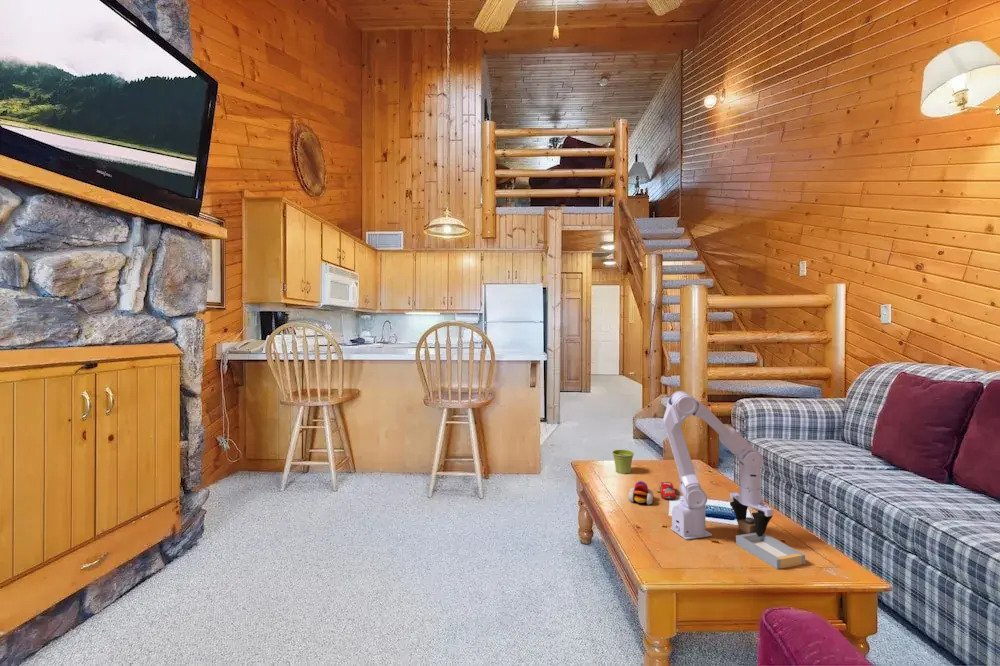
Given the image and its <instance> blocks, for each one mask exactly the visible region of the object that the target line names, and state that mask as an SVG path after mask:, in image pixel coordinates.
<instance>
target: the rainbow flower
mask: <svg viewBox="0 0 1000 666" xmlns="http://www.w3.org/2000/svg"><path fill="white" fill-rule="evenodd" d="M648 487H649V486H648V485H647V483H646V482H645V481H643V480H638V481H636V482H635V485H634V487H631V488H630V489H629V492H628V500H629V502H630V503H634V502H636V503H639V504H642V503H643V504H644V503H646V505H647V506H650V505H652V504H653V500H654V491H653V490H652V489H650V488H648Z"/></svg>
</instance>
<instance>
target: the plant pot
mask: <svg viewBox="0 0 1000 666" xmlns="http://www.w3.org/2000/svg"><path fill="white" fill-rule="evenodd" d="M611 454H612V455H613V458H614V459H613V460H614V466H615V472H617V474H621V475H625V474H630V473H631V470H632V463H633V462H632V461H633V457H634V455H635V452H634V451H632V450H628V449H614V450H613V451H612V452H611Z"/></svg>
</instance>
